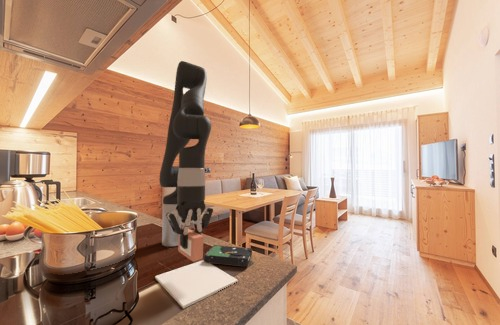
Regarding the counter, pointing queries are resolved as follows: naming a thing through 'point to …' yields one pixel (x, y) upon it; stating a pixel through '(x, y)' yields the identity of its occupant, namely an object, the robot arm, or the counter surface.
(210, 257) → the disk drive
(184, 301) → the mat
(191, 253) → the deck box
